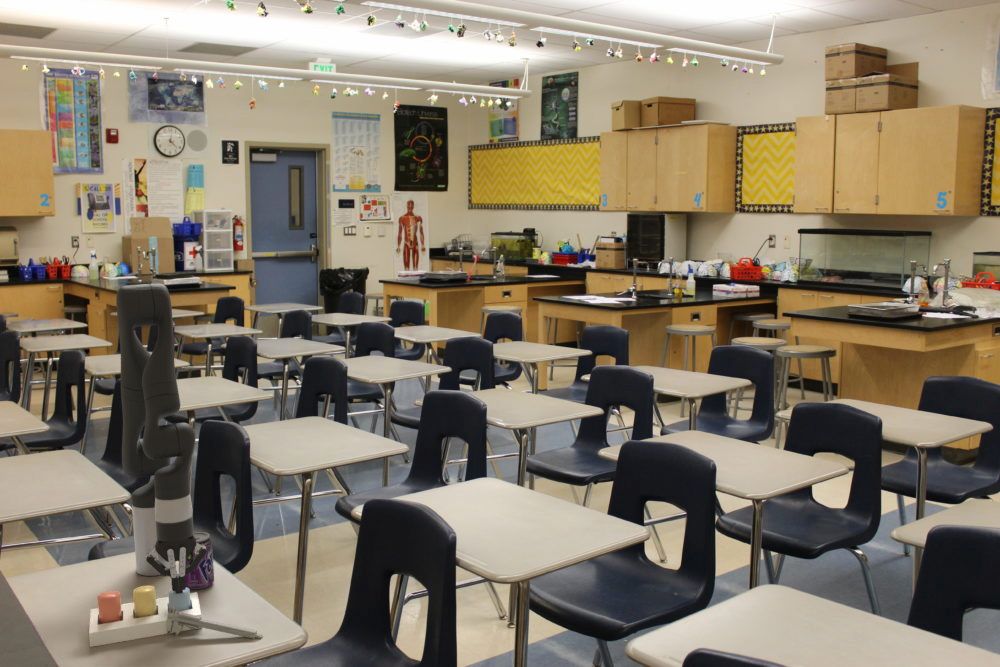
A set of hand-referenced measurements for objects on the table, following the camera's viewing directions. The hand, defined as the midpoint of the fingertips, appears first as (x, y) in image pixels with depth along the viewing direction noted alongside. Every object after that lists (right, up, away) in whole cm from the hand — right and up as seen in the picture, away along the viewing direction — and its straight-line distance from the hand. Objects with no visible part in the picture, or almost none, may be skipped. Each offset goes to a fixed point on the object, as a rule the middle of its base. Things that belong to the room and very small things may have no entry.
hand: (178, 591), depth 201 cm
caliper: (+10, -8, -6) cm, 14 cm away
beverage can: (-2, -4, +19) cm, 19 cm away
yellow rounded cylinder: (-7, -5, -2) cm, 8 cm away
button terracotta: (-13, -5, -4) cm, 15 cm away
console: (-7, -7, -1) cm, 9 cm away
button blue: (0, -6, +1) cm, 6 cm away
